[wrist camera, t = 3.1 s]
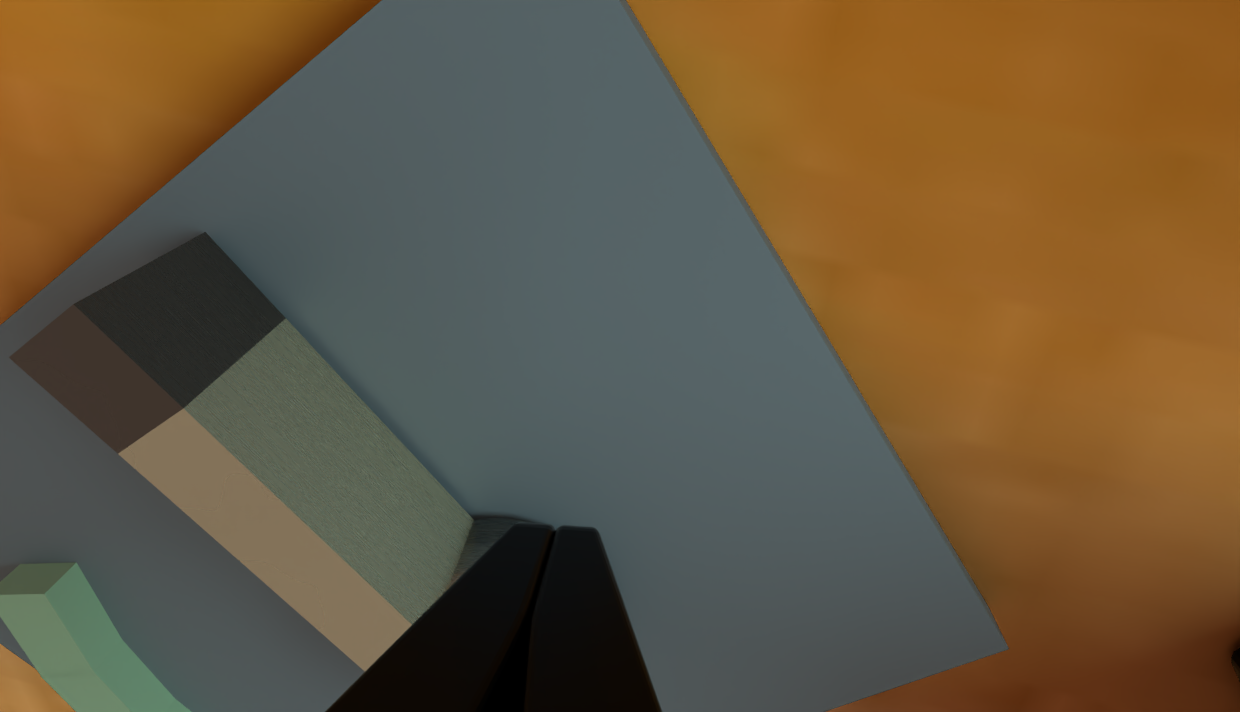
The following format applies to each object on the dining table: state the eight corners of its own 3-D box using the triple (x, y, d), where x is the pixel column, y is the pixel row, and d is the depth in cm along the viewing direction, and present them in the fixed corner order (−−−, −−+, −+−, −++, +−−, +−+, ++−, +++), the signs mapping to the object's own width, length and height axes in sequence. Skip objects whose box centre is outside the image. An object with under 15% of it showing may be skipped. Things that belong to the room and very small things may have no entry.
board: (989, 608, 18) (1027, 687, 16) (345, 840, 25) (316, 915, 23) (552, -124, 11) (524, -144, 9) (-152, 467, 18) (-251, 526, 16)
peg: (661, 632, 17) (658, 765, 14) (494, 700, 18) (461, 832, 16) (269, 179, 12) (150, 241, 10) (94, 320, 14) (-55, 408, 11)
